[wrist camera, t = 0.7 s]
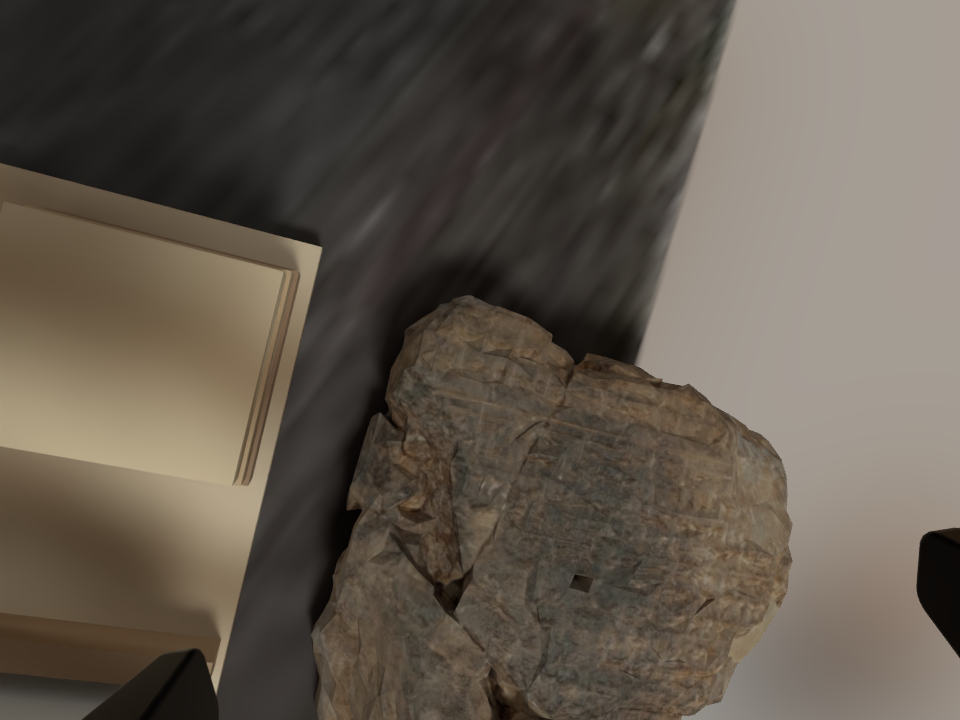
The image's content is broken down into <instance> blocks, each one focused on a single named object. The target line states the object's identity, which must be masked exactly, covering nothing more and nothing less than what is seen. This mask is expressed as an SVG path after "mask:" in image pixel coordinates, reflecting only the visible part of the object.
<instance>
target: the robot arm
mask: <svg viewBox="0 0 960 720" xmlns="http://www.w3.org/2000/svg"><path fill="white" fill-rule="evenodd" d="M917 594H918V598H919V601H920V603H921V605H922V607H923V608H924V610H925V612H926V613H927V614H928V615H929V617H930V618H931V620H932V621H933V623H934V624H935V625H936V627H937V628H938V629H939V631H940V632H941V633H942V635H943V636H944V637H945V638H946V640H947V641H948V643H949V644H950V645H951V647H952V648H953V649H954V651H955V652H956V654H957V655H958V656H959V658H960V528H950V529H943V530H937V531H931V532H928V533H927V534H925V535H924V536H923V537H922V539H921V541H920V547H919V561H918V573H917ZM82 720H219V706H218V700H217V696H216V693H215V690H214V686H213V683H212V679H211V676H210V673H209V669H208V666H207V662H206V659H205V656H204V654H203V653H202V651H201V650H200V649H198V648H195V647H193V648H187V649H180V650H174V651H168V652H165V653H163V654H161V655H160V656H158V657H157V658H156V659H155V660H153V661H152V662H151V663H150V664H149V665H147V666H146V667H145V668H144V669H143V670H141V671H140V672H139V673H138V674H136V675H135V676H134V677H133V678H132V679H130V680H129V681H128V682H127V683H125V684H124V685H123V686H122V687H121V688H119V689H118V690H117V691H116V692H114V693H113V694H112V695H111V696H110V697H108V698H107V699H106V700H105V701H103V702H102V703H101V704H100V705H99V706H97V707H96V708H95V709H94V710H93V711H91V712H90V713H89V714H88V715H86V716H85V717H84V718H83V719H82Z"/></svg>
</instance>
